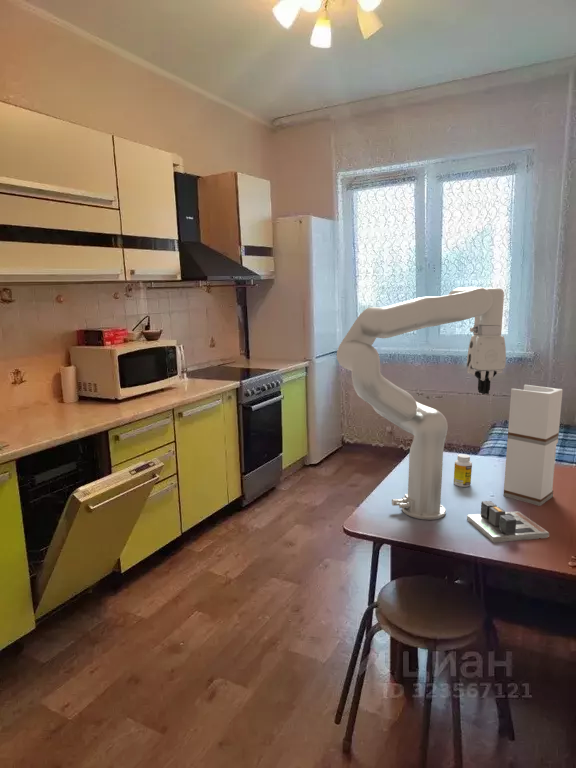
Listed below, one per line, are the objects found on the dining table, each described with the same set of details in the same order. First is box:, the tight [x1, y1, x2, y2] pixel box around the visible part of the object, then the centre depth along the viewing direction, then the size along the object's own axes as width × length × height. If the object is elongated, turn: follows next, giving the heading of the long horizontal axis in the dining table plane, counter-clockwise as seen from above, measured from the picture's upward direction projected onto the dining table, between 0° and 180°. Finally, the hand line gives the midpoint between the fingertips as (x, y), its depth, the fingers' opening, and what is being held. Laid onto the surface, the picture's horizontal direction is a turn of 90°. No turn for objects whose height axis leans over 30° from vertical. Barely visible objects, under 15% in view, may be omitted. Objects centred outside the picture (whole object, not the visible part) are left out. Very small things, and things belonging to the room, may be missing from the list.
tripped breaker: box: [489, 506, 506, 526], centre depth 145 cm, size 3×3×4 cm
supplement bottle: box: [453, 453, 473, 488], centre depth 178 cm, size 6×6×10 cm
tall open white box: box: [502, 384, 563, 507], centre depth 166 cm, size 11×11×35 cm
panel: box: [466, 500, 550, 543], centre depth 145 cm, size 16×14×6 cm
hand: (483, 393), depth 156 cm, fingers closed
